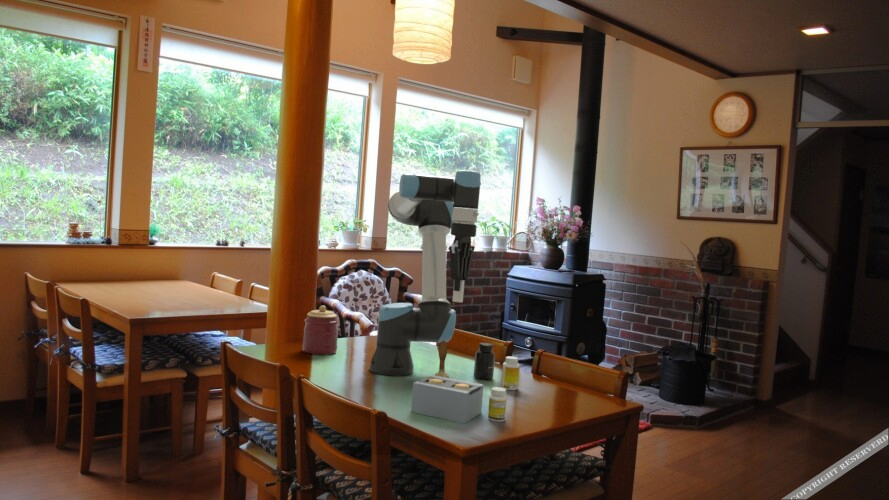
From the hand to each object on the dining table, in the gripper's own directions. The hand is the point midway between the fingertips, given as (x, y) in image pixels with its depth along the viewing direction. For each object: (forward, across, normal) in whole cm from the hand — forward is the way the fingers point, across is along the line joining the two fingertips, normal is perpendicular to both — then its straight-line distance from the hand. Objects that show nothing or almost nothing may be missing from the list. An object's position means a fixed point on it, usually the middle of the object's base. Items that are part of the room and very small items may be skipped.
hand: (457, 301), depth 195 cm
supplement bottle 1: (+30, +30, +2) cm, 43 cm away
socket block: (+29, -14, -6) cm, 33 cm away
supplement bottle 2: (+29, -11, -20) cm, 37 cm away
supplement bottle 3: (+30, +24, -10) cm, 39 cm away
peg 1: (+28, -15, -2) cm, 32 cm away
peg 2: (+28, -14, -10) cm, 33 cm away
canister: (+31, +23, +67) cm, 77 cm away
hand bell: (+30, +4, +5) cm, 30 cm away
